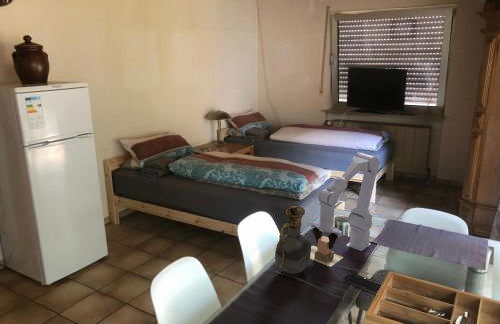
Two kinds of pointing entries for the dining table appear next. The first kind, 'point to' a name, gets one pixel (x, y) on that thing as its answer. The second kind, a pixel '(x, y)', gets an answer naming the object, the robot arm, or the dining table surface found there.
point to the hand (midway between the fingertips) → (324, 246)
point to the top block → (323, 245)
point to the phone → (362, 283)
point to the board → (330, 263)
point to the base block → (324, 256)
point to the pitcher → (293, 245)
